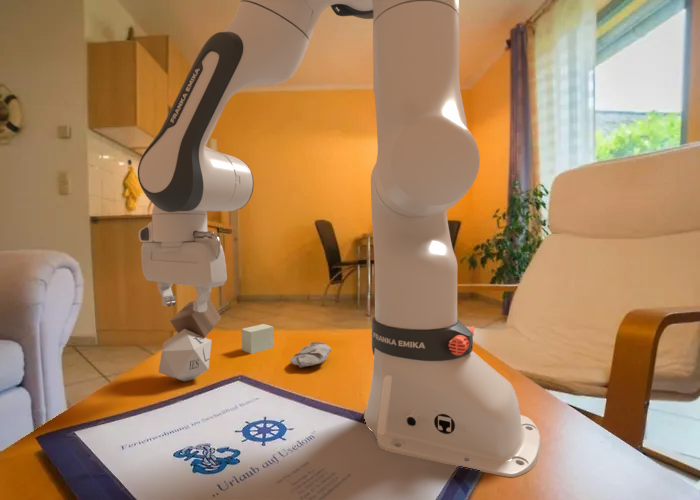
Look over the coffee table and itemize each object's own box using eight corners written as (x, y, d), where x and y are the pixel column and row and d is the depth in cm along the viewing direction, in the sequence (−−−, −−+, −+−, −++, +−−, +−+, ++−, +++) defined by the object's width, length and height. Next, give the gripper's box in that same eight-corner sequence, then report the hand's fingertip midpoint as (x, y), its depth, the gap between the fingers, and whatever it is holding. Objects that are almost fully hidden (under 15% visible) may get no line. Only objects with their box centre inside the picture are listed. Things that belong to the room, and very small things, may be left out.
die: (194, 395, 61) (192, 336, 60) (148, 391, 63) (145, 334, 62) (221, 375, 69) (220, 323, 69) (180, 372, 71) (178, 321, 70)
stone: (322, 372, 70) (321, 359, 69) (286, 370, 71) (285, 357, 71) (333, 352, 79) (333, 340, 79) (301, 351, 80) (301, 339, 80)
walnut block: (205, 337, 66) (221, 318, 72) (191, 315, 65) (209, 297, 70) (183, 342, 68) (201, 323, 73) (170, 320, 66) (188, 302, 72)
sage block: (273, 347, 85) (273, 326, 85) (251, 354, 81) (250, 332, 81) (264, 344, 88) (263, 323, 88) (242, 350, 84) (241, 328, 83)
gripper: (234, 230, 61) (237, 311, 62) (166, 231, 72) (169, 300, 73) (201, 231, 56) (204, 319, 57) (133, 232, 67) (136, 306, 68)
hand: (184, 308), depth 65 cm, fingers open, 8 cm apart
